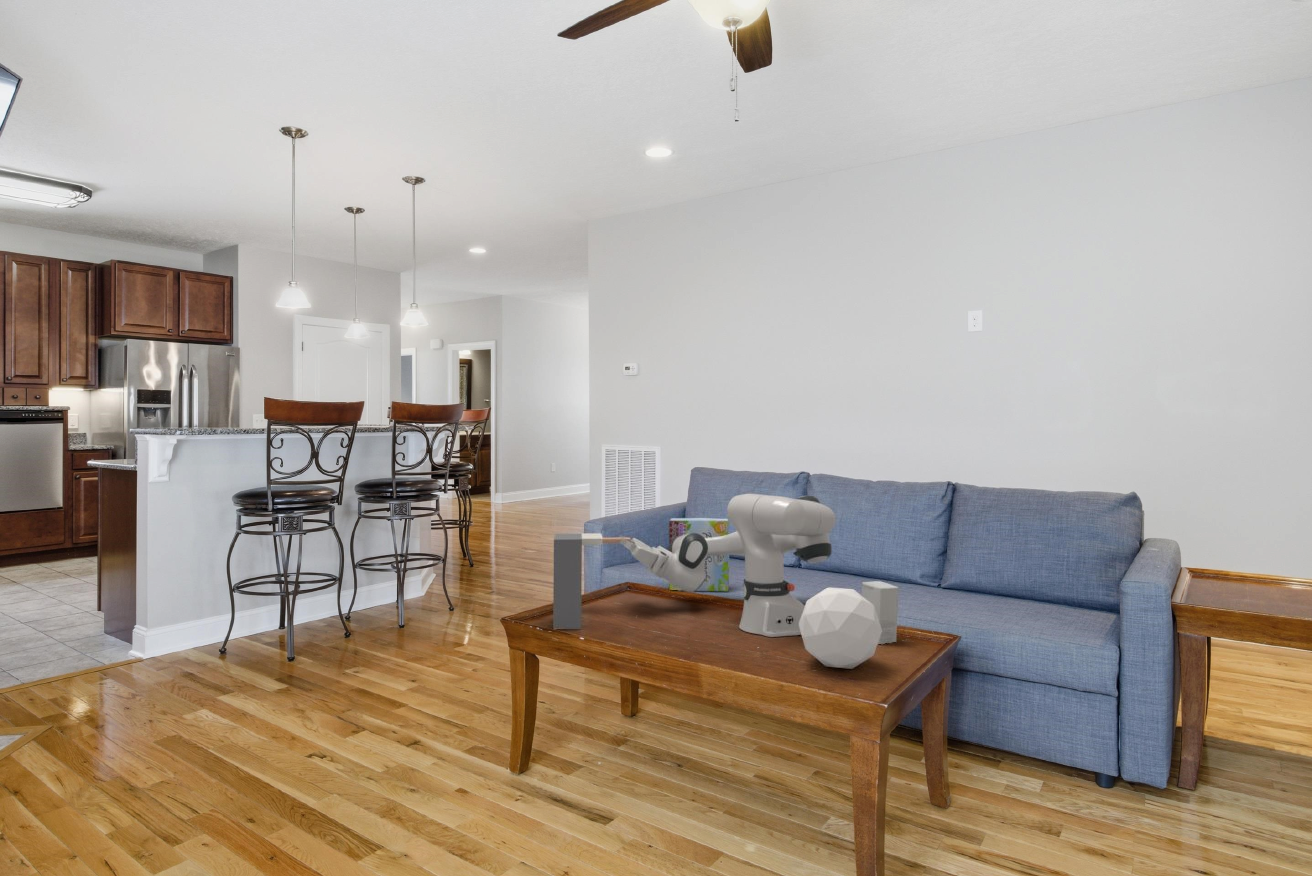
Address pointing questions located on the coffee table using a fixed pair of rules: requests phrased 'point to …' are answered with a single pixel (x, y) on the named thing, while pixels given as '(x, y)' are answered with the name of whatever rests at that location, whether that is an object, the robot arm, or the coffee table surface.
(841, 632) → the geometric sculpture
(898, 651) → the coffee table surface
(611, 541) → the lid
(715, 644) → the coffee table surface
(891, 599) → the skincare box
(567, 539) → the carton
